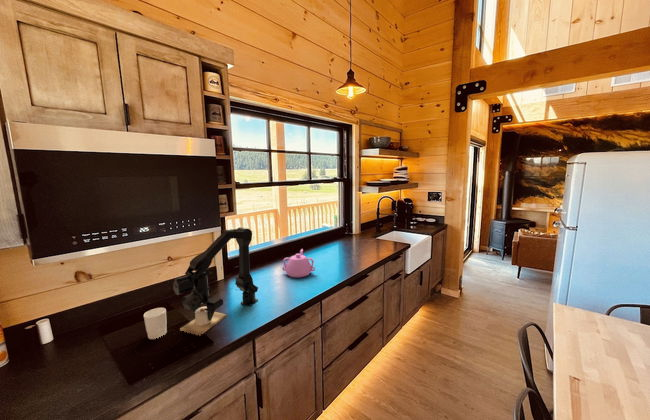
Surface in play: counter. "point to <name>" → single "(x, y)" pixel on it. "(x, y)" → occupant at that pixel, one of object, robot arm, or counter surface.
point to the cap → (201, 316)
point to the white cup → (155, 322)
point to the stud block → (198, 329)
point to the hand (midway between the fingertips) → (203, 319)
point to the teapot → (298, 265)
